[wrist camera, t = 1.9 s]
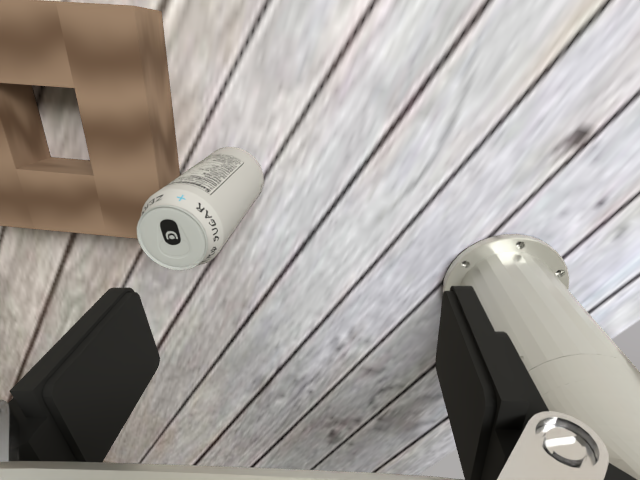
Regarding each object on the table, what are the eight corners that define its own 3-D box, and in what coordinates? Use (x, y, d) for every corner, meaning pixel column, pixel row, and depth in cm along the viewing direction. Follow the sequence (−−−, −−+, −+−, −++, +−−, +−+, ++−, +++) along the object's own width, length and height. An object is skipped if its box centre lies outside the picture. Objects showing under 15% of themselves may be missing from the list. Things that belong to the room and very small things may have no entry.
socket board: (185, 223, 42) (166, 241, 38) (12, 207, 43) (-23, 223, 39) (161, 11, 33) (133, 5, 29) (-56, -2, 34) (-112, -9, 30)
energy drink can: (214, 203, 40) (142, 278, 27) (202, 146, 38) (115, 198, 24) (269, 201, 40) (223, 277, 26) (261, 142, 37) (205, 194, 24)
